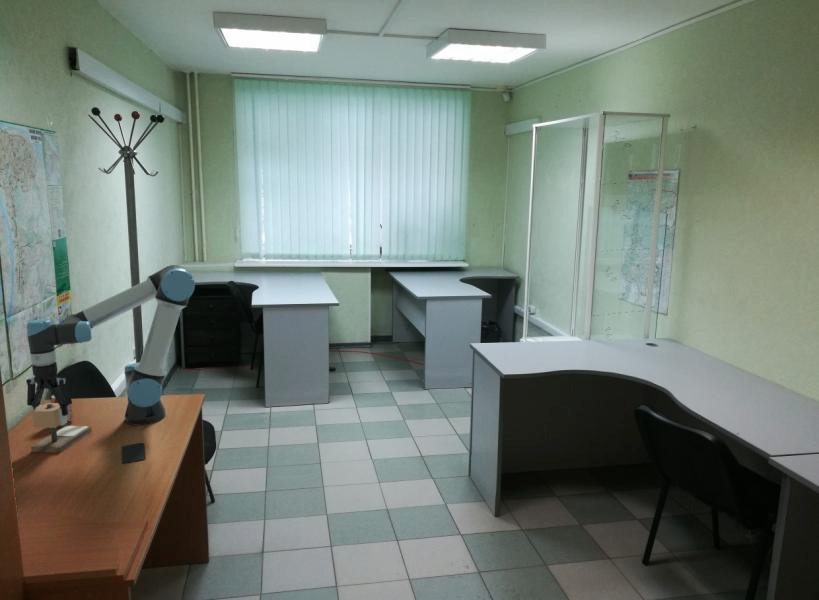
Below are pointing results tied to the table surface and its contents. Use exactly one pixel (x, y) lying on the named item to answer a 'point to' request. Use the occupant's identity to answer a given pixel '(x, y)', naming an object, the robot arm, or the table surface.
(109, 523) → the table surface
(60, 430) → the stand
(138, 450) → the phone
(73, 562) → the table surface
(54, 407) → the collar
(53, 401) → the soda can
